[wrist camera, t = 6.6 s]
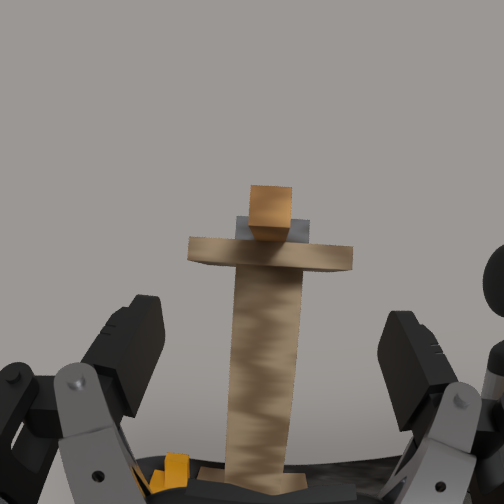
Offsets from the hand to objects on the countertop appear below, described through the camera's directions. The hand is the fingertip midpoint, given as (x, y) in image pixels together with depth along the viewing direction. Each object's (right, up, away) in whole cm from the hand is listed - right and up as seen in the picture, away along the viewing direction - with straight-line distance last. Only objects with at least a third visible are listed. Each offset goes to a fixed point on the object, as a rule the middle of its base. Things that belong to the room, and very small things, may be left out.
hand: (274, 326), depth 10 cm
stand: (-1, -28, +18) cm, 33 cm away
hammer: (+1, +3, +17) cm, 18 cm away
